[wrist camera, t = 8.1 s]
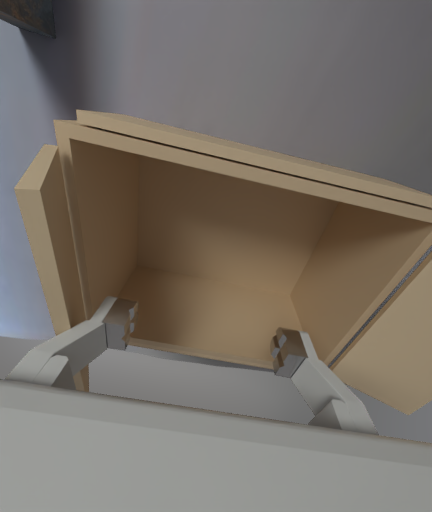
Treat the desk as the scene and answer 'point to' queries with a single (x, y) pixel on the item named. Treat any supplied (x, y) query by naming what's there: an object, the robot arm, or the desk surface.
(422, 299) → the flap
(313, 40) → the desk surface
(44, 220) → the flap
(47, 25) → the miniature staircase model
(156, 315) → the carton
